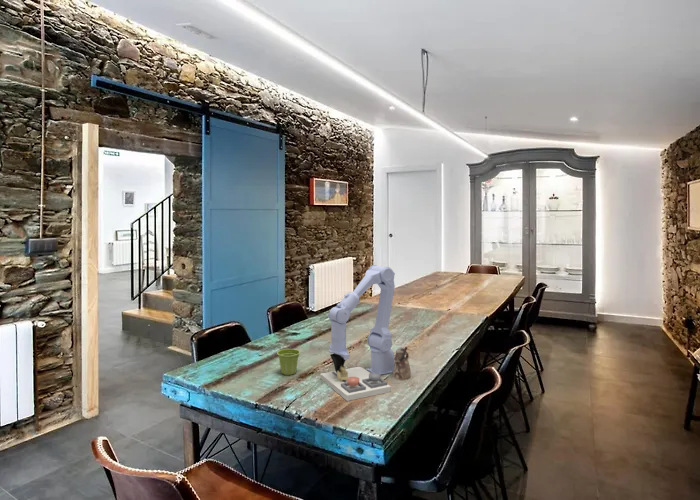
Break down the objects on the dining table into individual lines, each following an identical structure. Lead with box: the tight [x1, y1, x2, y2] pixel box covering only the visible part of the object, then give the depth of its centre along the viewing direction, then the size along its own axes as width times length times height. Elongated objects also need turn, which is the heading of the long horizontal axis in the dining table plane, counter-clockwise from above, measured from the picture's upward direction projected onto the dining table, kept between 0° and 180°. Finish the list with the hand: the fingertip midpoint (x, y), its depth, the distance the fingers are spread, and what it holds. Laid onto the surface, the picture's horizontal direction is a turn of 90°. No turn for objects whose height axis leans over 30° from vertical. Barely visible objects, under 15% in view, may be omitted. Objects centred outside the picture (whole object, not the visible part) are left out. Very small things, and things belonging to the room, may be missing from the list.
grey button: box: [369, 372, 382, 382], centre depth 162 cm, size 4×4×2 cm
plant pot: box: [276, 348, 301, 376], centre depth 179 cm, size 9×9×9 cm
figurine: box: [392, 346, 411, 381], centre depth 174 cm, size 7×7×12 cm
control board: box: [319, 366, 392, 402], centre depth 166 cm, size 18×24×3 cm
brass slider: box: [337, 365, 348, 381], centre depth 166 cm, size 3×3×5 cm
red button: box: [347, 377, 359, 386], centre depth 158 cm, size 4×4×2 cm
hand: (338, 372), depth 168 cm, fingers closed
